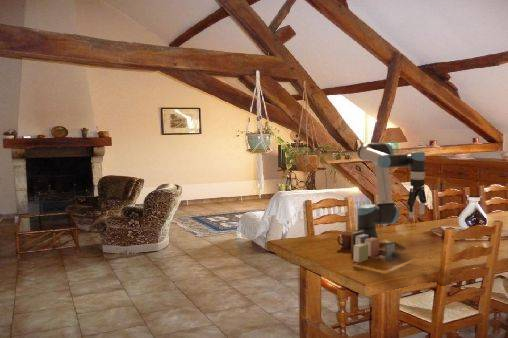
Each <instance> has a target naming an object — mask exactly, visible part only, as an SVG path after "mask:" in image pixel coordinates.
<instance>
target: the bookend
mask: <svg viewBox="0 0 508 338" xmlns="http://www.w3.org/2000/svg"><path fill="white" fill-rule="evenodd" d="M395 245H396V244H395V243H394V242H391V243H389V244H385V249H384V250H385V260H388V261H387V262H389V261H391V262H393V261H395V259H396V260H398V259H400V258H399V257H396V256H394V254H395V250H396V247H395Z"/></svg>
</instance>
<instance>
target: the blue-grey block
mask: <svg viewBox="0 0 508 338" xmlns="http://www.w3.org/2000/svg"><path fill="white" fill-rule="evenodd" d="M365 239H369V235H366V234H361V235H358V236H355V245H357V244H360V243H364V240H365Z"/></svg>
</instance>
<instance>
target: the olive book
mask: <svg viewBox="0 0 508 338" xmlns="http://www.w3.org/2000/svg"><path fill="white" fill-rule="evenodd" d="M352 254H353V255H352V257H353V258H352V259H353V260H352V261H353V262H352V264H353V265H358V266H361V265H362V264H361V263H362V262H364V261H367V260H368V258H369V257H368V244H364V243H360V244H357V245H354V246H353V253H352Z"/></svg>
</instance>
